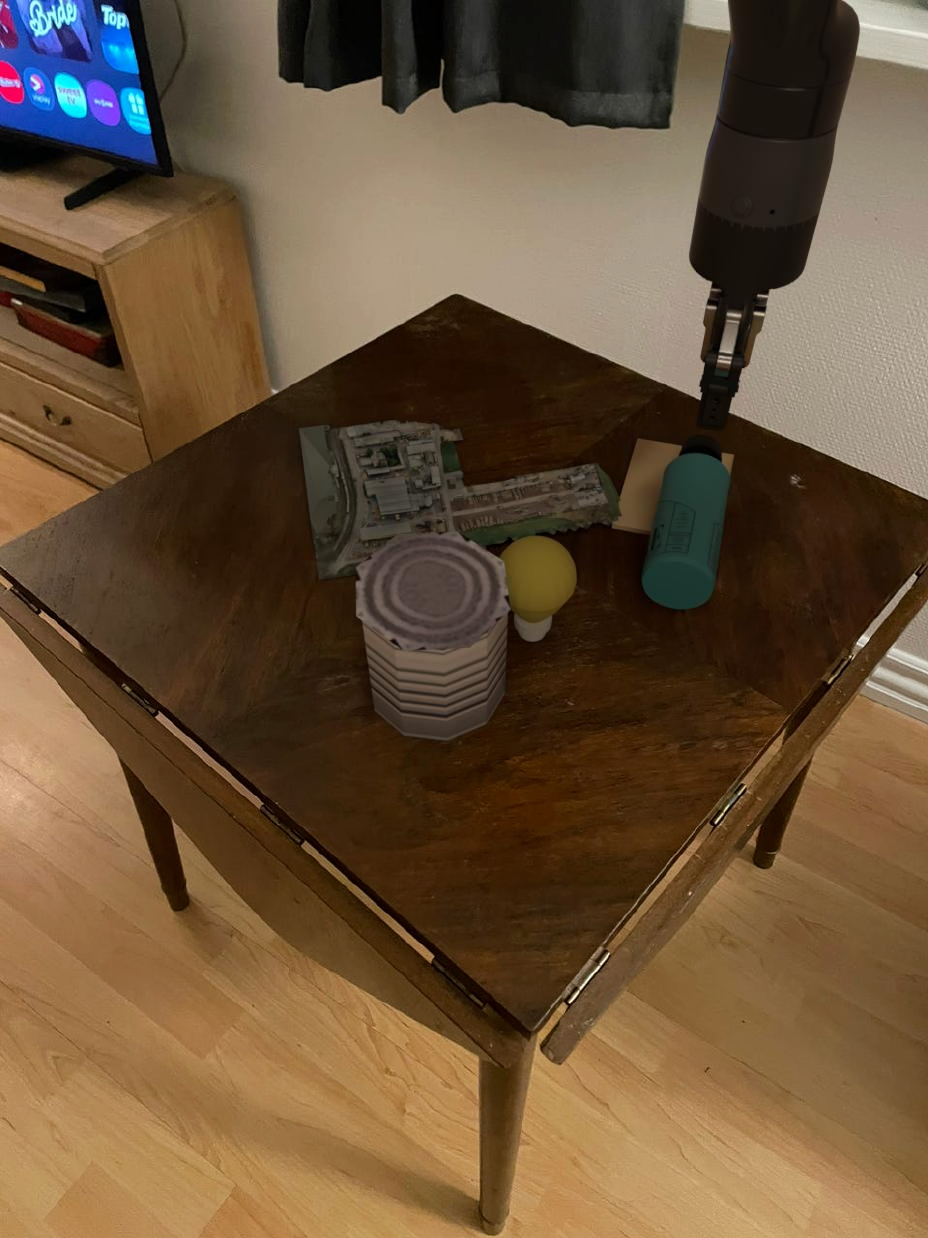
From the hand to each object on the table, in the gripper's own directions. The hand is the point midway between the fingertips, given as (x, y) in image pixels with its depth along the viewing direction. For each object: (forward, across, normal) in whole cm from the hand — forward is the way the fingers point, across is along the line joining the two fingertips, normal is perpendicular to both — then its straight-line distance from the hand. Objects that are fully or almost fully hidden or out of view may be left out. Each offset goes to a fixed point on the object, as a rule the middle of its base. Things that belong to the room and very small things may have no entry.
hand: (710, 423), depth 71 cm
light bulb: (+18, -9, +11) cm, 23 cm away
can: (+18, -17, +17) cm, 30 cm away
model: (+17, +8, +23) cm, 30 cm away
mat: (+18, +13, +2) cm, 22 cm away
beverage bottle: (+14, -5, 0) cm, 15 cm away
